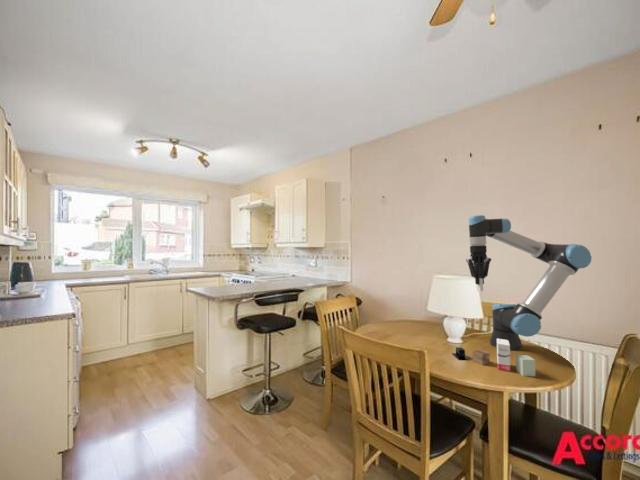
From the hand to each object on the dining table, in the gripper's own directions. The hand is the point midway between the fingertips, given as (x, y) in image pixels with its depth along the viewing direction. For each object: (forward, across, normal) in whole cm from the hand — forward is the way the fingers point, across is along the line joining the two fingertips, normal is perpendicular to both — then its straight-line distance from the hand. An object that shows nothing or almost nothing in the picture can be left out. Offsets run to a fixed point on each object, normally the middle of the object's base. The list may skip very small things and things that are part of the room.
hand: (480, 290), depth 148 cm
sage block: (+33, -3, +23) cm, 40 cm away
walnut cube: (+33, +8, +9) cm, 35 cm away
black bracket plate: (+33, +13, +1) cm, 36 cm away
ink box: (+33, +1, +16) cm, 37 cm away
